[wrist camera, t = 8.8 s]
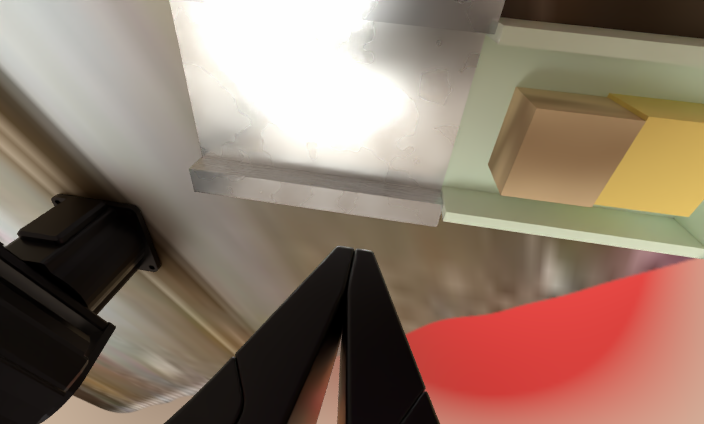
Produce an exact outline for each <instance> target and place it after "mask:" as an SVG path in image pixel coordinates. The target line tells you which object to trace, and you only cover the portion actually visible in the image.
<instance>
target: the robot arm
mask: <svg viewBox="0 0 704 424" xmlns="http://www.w3.org/2000/svg"><path fill="white" fill-rule="evenodd" d="M51 200H52V203H53V204H54V206H55V207H53V208H52V209H50V210H49V211H47V212H46V213H44V214H43V215H41V216H40V217H38V218H37V219H35V220H34V221H32V222H31V223H29V224H28V225H26V226H25V227H23V228H22V229H20V230H19V231H18V233H17V235H18V236H19V238H17V239H16V240H14V241H13V242H12V243H10V244H9V245H7V246H6V247H3V245H4V244H3V243H1V242H0V424H40V423H42V422H43V421H45V420H46V419H48V418H49V417H50V416H52V415H53V414H54V413H55V412H56V411H57V410H58V409H59V408H61V407H62V405H64V404H65V403H66V402H67V400H68V399H69V398H70V397H71V396H72V395H73V394H74V393H75V391H76V390H77V389H78V388H79V386H80V385H81V384H82V382H83V381H84V379H85V378H86V376H87V374H88V373H89V371H90V369H91V368H92V366H93V364H94V363H95V361H96V360H97V358H98V356H99V355H100V353H101V351H102V350H103V348H104V346H105V345H106V343H107V341H108V340H109V338H110V337H111V335H112V333H113V332H114V330H115V328H116V326H114V325H113V324H112V323H110V322H106V321H105V320H103V319H102V318H101V317H99V316H98V315H97V314H98V313H99V312H100V311H101V310H102V309H103V307H104V306H105V305H106V304H107V303H108V302H109V301H110V300H111V299H112V298H113V296H114V295H115V294H116V293H117V292H118V291H119V290H120V289H121V288H122V287H123V285H124V284H125V283H126V282H127V281H128V280H129V279H130V278H131V277H132V276H133V274H134V273H135V272H136V271H137V270H138V269H140V270H146V271H152V272H156V271H158V270H159V268H160V267H161V265H160V262H159V259H158V257H157V254H156V251H155V249H154V246H153V244H152V241H151V238H150V236H149V233H148V230H147V228H146V225H145V222H144V220H143V217H142V215H141V212H140V210H139V209H138V208H137V207H136V206H134V205H129V204H122V203H116V202H109V201H102V200H96V199H89V198H82V197H76V196H69V195H63V194H57V195H56V196H54V197H53V198H52V199H51ZM341 336H342V339H341ZM340 341H341V352H340V373H339V396H338V416H337V424H440V423H439V420H438V418H437V415H436V413H435V410H434V408H433V405H432V402H431V400H430V397H429V395H428V393H427V392H425V389H426V388H425V385H424V382H423V380H422V377H421V374H420V372H419V369H418V367H417V364H416V361H415V359H414V356H413V354H412V351H411V349H410V346H409V343H408V341H407V338H406V335H405V333H404V330H403V328H402V325H401V323H400V320H399V317H398V315H397V312H396V310H395V307H394V304H393V302H392V299H391V297H390V294H389V291H388V289H387V286H386V284H385V281H384V278H383V276H382V273H381V271H380V268H379V265H378V263H377V260H376V258H375V255H374V253H373V252H372V251H370V250H364V249H356V250H355V251H354V249H353V248H351V247H345V246H337V247H336V248H335V249H334V250H333V251H332V252H331V253H330V254H329V255H328V256H327V257H326V258H325V259H324V260H323V261H322V262H321V263H320V264H319V265H318V267H317V268H316V269H315V270H314V271H313V272H312V273H311V274H310V275H309V276H308V277H307V278H306V279H305V280H304V281H303V282H302V283H301V285H300V286H299V287H298V288H297V289H296V290H295V291H294V292H293V293H292V294H291V295H290V296H289V297H288V298H287V299H286V300H285V301H284V303H283V304H282V305H281V306H280V307H279V308H278V309H277V310H276V311H275V312H274V313H273V314H272V315H271V316H270V317H269V318H268V319H267V321H266V322H265V323H264V324H263V325H262V326H261V327H260V328H259V329H258V330H257V331H256V332H255V333H254V334H253V335H252V336H251V337H250V339H249V340H248V341H247V342H246V343H245V344H244V345H243V346H242V347H241V348H240V349H239V350H238V351H237V352H236V354H235V357H236V358H235V357H231V358H230V359H229V361H228V362H227V363H226V364H225V365H224V366H223V367H222V368H221V369H220V370H219V371H218V372H217V373H216V374H215V375H214V376H213V377H212V378H211V379H210V380H209V381H208V382H207V383H206V384H205V385H204V386H203V387H202V388H201V389H200V390H199V391H198V392H197V393H196V394H195V395H194V396H193V397H192V399H190V400H189V401H188V402H187V403H186V404H185V405H184V406H183V407H182V408H181V409H180V410H178V411H177V412H176V413H175V414H174V415H173V416H172V417H171V418H170V419H169V420H167V422H165V423H164V424H316V423H317V419H318V416H319V413H320V409H321V406H322V402H323V399H324V396H325V393H326V389H327V386H328V382H329V379H330V376H331V372H332V369H333V366H334V362H335V359H336V356H337V352H338V349H339V345H340Z"/></svg>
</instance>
